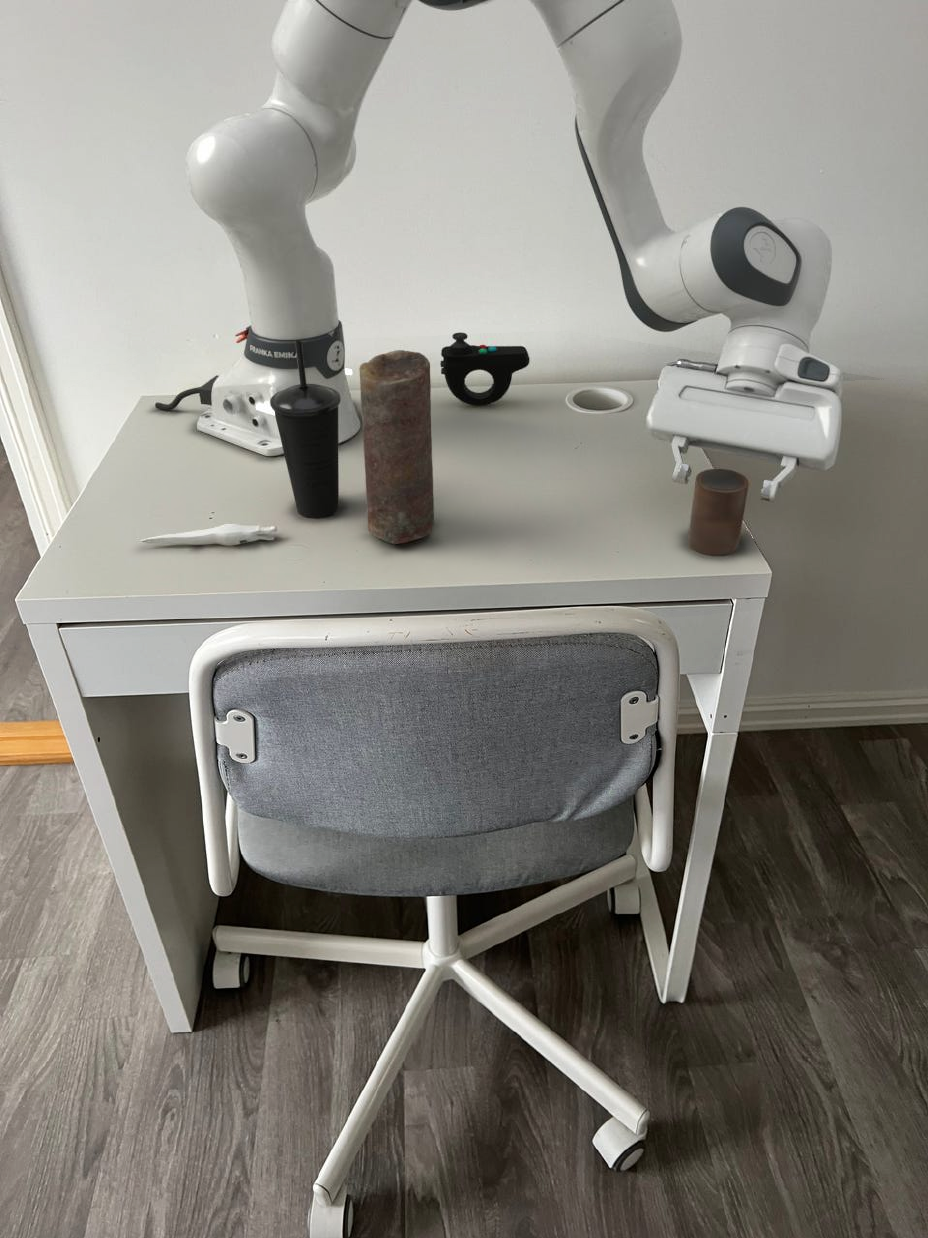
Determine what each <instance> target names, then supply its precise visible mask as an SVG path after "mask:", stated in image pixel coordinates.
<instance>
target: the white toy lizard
mask: <svg viewBox="0 0 928 1238" xmlns="http://www.w3.org/2000/svg"><path fill="white" fill-rule="evenodd" d="M277 530H278V527H277V526H276V525H273V526H272V525H271V526H262V525H244V524H239V523H224V524H220V525H217V526H215V527H209V528H205V529H197V530H191V531H190V530H189V531H184V532H177V533H168V534H163V535H156V536H152V537H146V538H143V539H141V540H139V542H141V543H144V544H153V545H191V546H192V545H193V546H194V545H195V546H200V545H201V546H202V545H212V544H218V545H221V546H226V547H232V546H237V545H241V544H245V543H250V542H256V541H259V540H265V541H274V540H275V537H273V536H272V535H270V534H272V533H275V532H277Z"/></svg>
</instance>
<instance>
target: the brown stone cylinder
mask: <svg viewBox="0 0 928 1238" xmlns="http://www.w3.org/2000/svg"><path fill="white" fill-rule="evenodd" d="M358 369H359V387H360V406H361V420H362V421H361V422H362V423H361V424H362V440H363V455H364V471H365V495H366V497H365V498H366V513H367V515H366V517H367V529H368V532H369V534H370V535H372V536H375V537H376V538H378V539H380V540H382V541H384V542H387V543H389V544H390V545H397V544H405V543H408V542H410V541H415V540H419V539H422V538H425V537H426V536H427V537H428V535H429V534H431V532H432V531H433V528H434V526H435V503H434V502H435V499H434V497H435V496H434V476H433V475H434V471H433V470H434V468H433V443H432V441H433V440H432V439H433V438H432V399H431V398H432V397H431V394H432V393H431V392H432V391H431V389H432V387H431V386H432V385H431V363H430V360H429V359H428V357H426V355H424V354H422V353H421V352H418V351H411V350H404V349H398V350H391V351H388V352H386V353H380V354H378V355H376V356H373V357H372V358H371V359H370V360H369V361H368V362H367V361H366V362H363V363H361V365H359V368H358Z"/></svg>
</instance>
